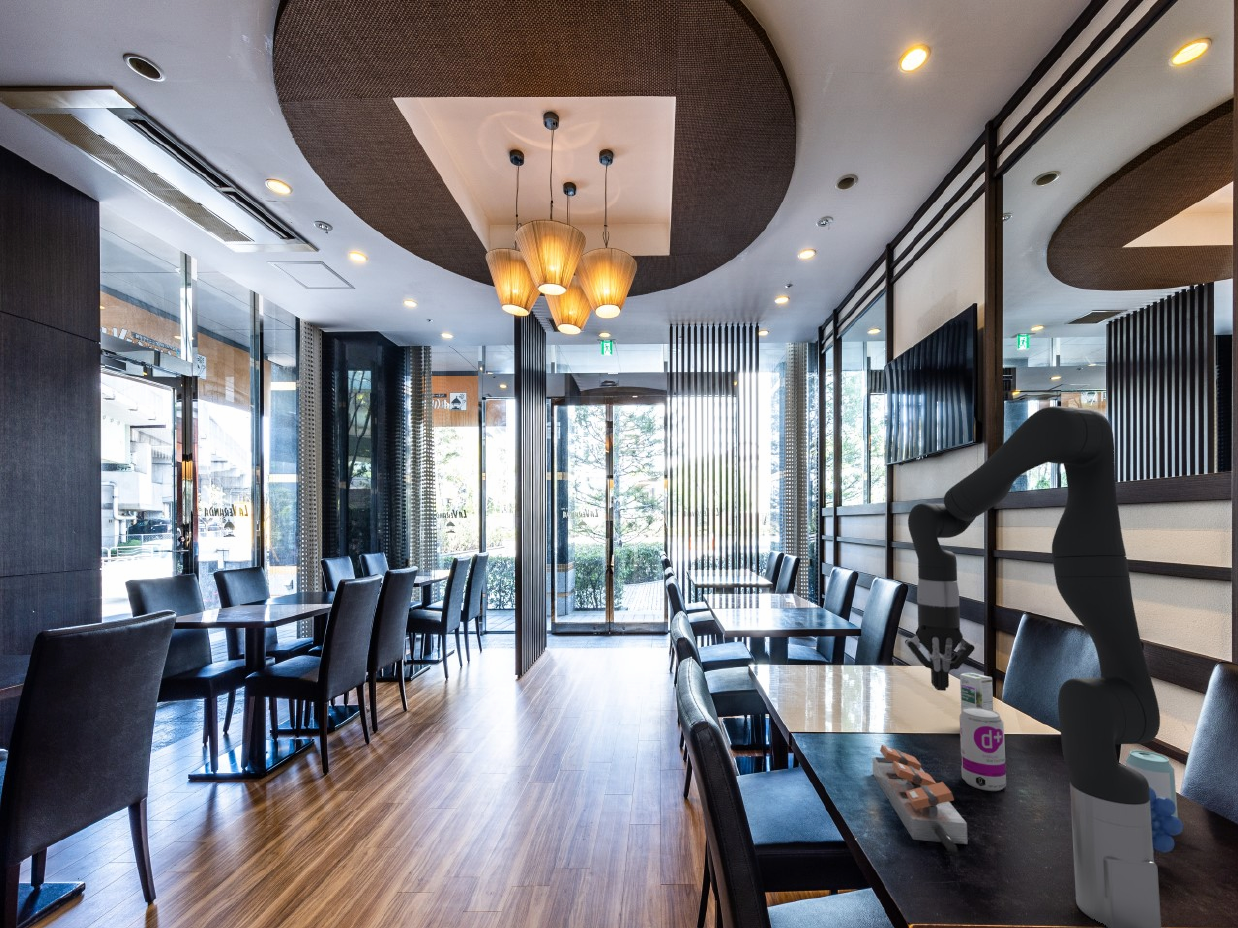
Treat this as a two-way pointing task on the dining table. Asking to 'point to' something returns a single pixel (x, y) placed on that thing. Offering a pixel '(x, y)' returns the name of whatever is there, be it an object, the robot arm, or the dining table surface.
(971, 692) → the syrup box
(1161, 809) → the grapes
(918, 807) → the block
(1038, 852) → the dining table surface
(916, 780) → the rocker
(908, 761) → the rocker
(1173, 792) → the can
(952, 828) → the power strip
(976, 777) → the supplement can
